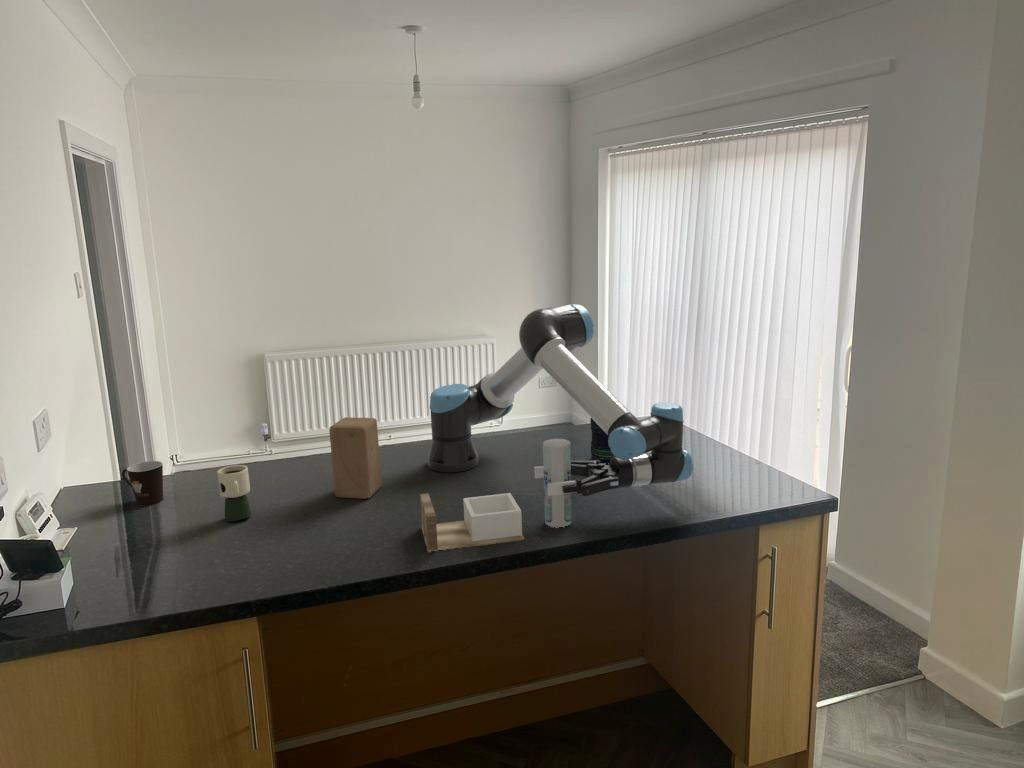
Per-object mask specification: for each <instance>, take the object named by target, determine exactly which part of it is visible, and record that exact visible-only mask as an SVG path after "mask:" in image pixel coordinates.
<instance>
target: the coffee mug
mask: <svg viewBox="0 0 1024 768" xmlns="http://www.w3.org/2000/svg"><path fill="white" fill-rule="evenodd" d="M163 467H164V465H163V462H162V461H160V460H149V461H148V460H147V461H140V462H137V463H134V464H131V465H129V466H128V467H127V468H125V469H123V470H122V471H121V472H122V473H121V475H122V479H123V480H124V482H126V484H127V485H128V486H130V487H131V488H132V491H133V495H134V498H135V501H136V502H135V503H136V505H137V504H138V506H139V505H149V506H153V505H152V504H154V505H157V504H159V503H161V502H163V500H164V476H163V475H164V474H163V473H164V472H163ZM126 472H127V474H128V475H127V476H128V478H129V480H128V479H127V477H126V475H125V474H126ZM160 501H161V502H160ZM158 502H159V503H158ZM156 503H157V504H156Z"/></svg>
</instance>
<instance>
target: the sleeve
mask: <svg viewBox="0 0 1024 768" xmlns="http://www.w3.org/2000/svg"><path fill="white" fill-rule="evenodd" d="M462 500H463V519H464V520H463V521H464V522H465V524H466V527H467V529H468V532H469V534H470V537H471V539H472V541H473V542H474V541H482V540H490V539H497V538H505V537H513V536H521V535H523V524H522V523H523V520H522V518H523V517H522V516H523V515H522V510H521V508H520V506H519V504H518V503H517V502H516V500H515V497H514V496H513V495H512V493H511V492H507V493H498V494H490V495H480V496H472V497H471V496H470V497H465V498H463V499H462Z"/></svg>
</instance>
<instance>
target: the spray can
mask: <svg viewBox="0 0 1024 768" xmlns="http://www.w3.org/2000/svg"><path fill="white" fill-rule="evenodd" d="M571 450H572V448H571V442H570V441H569V440H568V439H564V438H551V439H547V440H544V441H543V442H542V461H543V462H542V463H543V465H542V466H543V471H544V478H543V494H544V495H543V498H544V499H543V500H544V501H543V502H544V521H545V525H546V526H547V525H548V527H549V526H550V527H549V528H554V527H555V528H554V529H560V528H559V527H563V528H566V527H565V526H567V527H568V525H569V526H570V525H571V523H572V493H569V494H561V495H552V496H548V487H547V484H548V483H557V482H566V481H572V475H571V460H572V458H571V456H572V455H571V453H572V451H571Z"/></svg>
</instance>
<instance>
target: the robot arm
mask: <svg viewBox="0 0 1024 768" xmlns="http://www.w3.org/2000/svg"><path fill="white" fill-rule="evenodd" d="M594 326H595V325H594V320H593V318H592V315H591V313H590V312H589V310H587V309H586V308H585V306H583V305H581V304H578V303H574V304H573V303H568V304H565V305H558V306H553V307H546V308H539V309H535V310H533V311H531V312H530V313H527V315H526V316H525V317H524V319H523V320H522V322H521V325H520V327H519V333H518V335H519V337H518V338H519V343H520V348H519V349H518V350H517V351H516V352H515V353H514V354H513V355H512V356H511V357H510V358H509V359H508V360H507V361H506V362H505V363H504V364H503V365H502V366H501V367H500V368H499V369H497V370H496V372H495V373H487V374H486V375H484V376H483V377H482V378H481V379H480V380H479V381H478V382H477V383H475V384H474V385H469V386H468V385H466V384H464V383H452V384H446V385H443V386H440V387H437V388H435V389H434V390H432V392H431V393H430V396H429V410H430V423H431V425H430V426H431V444H430V448H429V452H428V456H427V467H428V469H430V470H431V471H435V472H439V473H460V472H465V471H469V470H471V469H474V468H475V467H477V466H478V465H479V455H478V452H477V449H476V446H475V444H474V441H473V439H472V426H475V425H478V424H482V423H486V422H489V421H493V420H494V421H495V420H498V419H502V418H503V417H505V416H507V415H508V414H509V413H510V412H511V410H512V409H513V406H514V404H513V402H514V401H515V395H516V394H517V393H519V391H520V390H522V388H523V387H525V386H526V385H527V384H528V383H529V382H530V381H532V379H534V378H535V377H537V375H538V374H540V372H541V371H543V370H545V372H547V373H548V375H549V376H550V377H551V378H552V379H553V380H554V381H555V382H556V383H557V384H558V385H559V386H560V387H561V388H562V389H563V390H564V392H566V393H567V395H569V396H570V398H572V400H574V402H576V404H577V405H578V406H579V407H580V408H581V409H582V410H583V411H584V412H585V413H586V414H587V415H588V416H589V417H590V419H591V418H592V419H593V420H594V421H595V422H596V423H597V424H598V425H599V426H600V427H601V428H602V429H603V430H604V431H605V432H606V434H607V435H608V436H609V439H608V444H609V447H610V449H611V452H612V453H613V455H614V456H616V457H613V458H611V460H610V463H609V464H608V465H604V464H600V460H572V459H571V476H580V477H586V478H584V479H583V478H582V479H578V478H577V479H576V480H571V481H566V482H557V483H548V484H547V487H548V496H552V495H561V494H569V493H571V494H575V493H576V494H579V495H580V494H581V496H582V497H587V496H591V495H595V494H598V493H602V492H604V491H608V490H614V489H623V488H629V487H638V488H642V487H643V486H646V485H654V484H665V483H666V484H667V483H676V482H681V481H686V480H689V479H690V477H692V474H693V471H694V463H693V458H692V456H691V453H690V452H689V451H688V450H686V449H683V444H684V443H683V442H684V440H683V437H684V422H685V421H684V414H683V413H684V411H683V407H682V406H681V405H679V404H677V403H674V402H658V403H655V404H653V405H652V407H651V409H650V410H651V411H650V416H648V417H646V418H643V419H640V420H639V419H638V418H637V416H635V415H634V414H633V413H632V412H631V411H630V410H629V409H628V408H627V407H626V406H625V405H624V404H623V403H621V401H620V400H619V399H618V398H617V397H616V396H615V395H614V394H613V393H612V392H611V391H610V390H609V389H608V388H607V387H606V386H605V385H604V384H603V383H602V382H601V381H600V380H599V379H598V378H597V377H596V376H595V375H594V374H593V373H592V372H591V371H590V370H589V368H587V367H586V366H585V365H583V363H582V362H581V361H580V360H579V359H578V358H577V357H576V356H575V355H574V354H573V353H572V351H573V350H575V349H576V348H582V347H584V346H586V345H588V344H589V343H590V342H591V341H592V339H593V337H594V332H595V331H594V328H595V327H594ZM533 469H534V479H544V471H543V465H540V466H534V467H533Z"/></svg>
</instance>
